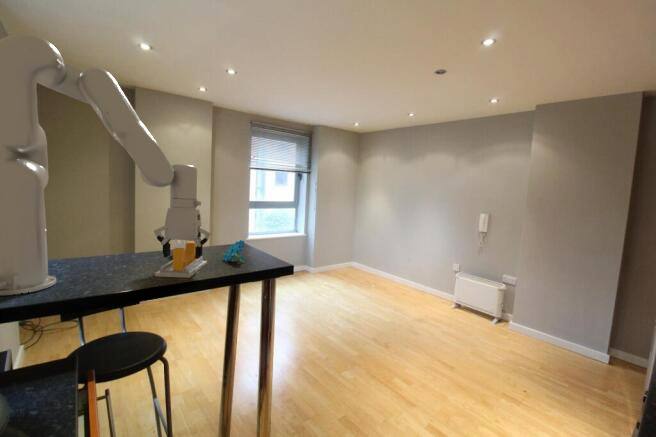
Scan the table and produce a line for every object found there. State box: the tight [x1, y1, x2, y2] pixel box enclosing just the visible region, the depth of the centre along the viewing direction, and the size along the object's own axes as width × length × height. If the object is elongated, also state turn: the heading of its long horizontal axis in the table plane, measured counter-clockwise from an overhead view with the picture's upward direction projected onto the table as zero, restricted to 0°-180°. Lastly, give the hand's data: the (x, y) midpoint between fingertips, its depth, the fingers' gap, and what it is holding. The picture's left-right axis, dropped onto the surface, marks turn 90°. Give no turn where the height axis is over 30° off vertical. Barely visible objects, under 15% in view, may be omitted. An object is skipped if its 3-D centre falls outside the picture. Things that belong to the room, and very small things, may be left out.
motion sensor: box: [173, 240, 197, 249], centre depth 117 cm, size 8×8×8 cm
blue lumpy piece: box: [222, 239, 246, 263], centre depth 113 cm, size 11×6×10 cm
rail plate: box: [154, 255, 208, 279], centre depth 98 cm, size 16×10×3 cm, turn 4°
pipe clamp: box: [172, 242, 197, 271], centre depth 97 cm, size 12×4×6 cm, turn 5°
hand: (182, 257), depth 97 cm, fingers open, 9 cm apart
